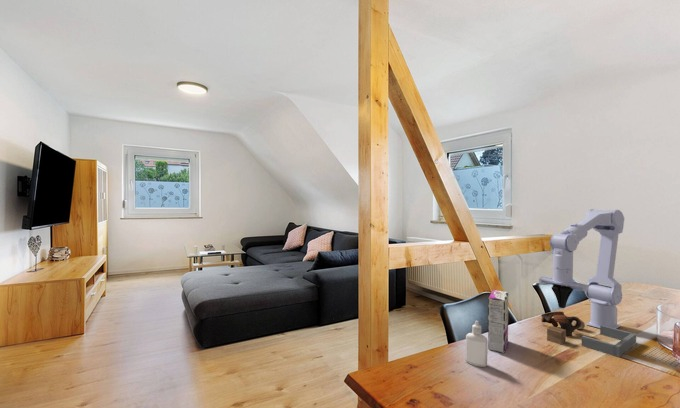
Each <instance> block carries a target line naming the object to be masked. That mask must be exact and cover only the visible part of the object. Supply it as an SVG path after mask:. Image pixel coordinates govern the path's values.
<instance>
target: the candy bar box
mask: <svg viewBox="0 0 680 408" xmlns="http://www.w3.org/2000/svg"><path fill="white" fill-rule="evenodd" d="M487 313H488V314H487V315H488V323H487V324H488V331H487V332H488V334H487V335H488V336H487V337H488V338H487V340H488V348H487V350H489V351H492V352H498V353H503V354H505V353H506V349H507V346H508V342H509V291H503V290H496V289H493V290H492V291H491V293H490V295H489V297H488V312H487Z"/></svg>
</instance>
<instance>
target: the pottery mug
mask: <svg viewBox="0 0 680 408" xmlns="http://www.w3.org/2000/svg"><path fill="white" fill-rule="evenodd" d="M540 316H541V323H542V324H543V323H547V324H551V325H552V326H553V327H557V328H558V327H559V326H560V327H559V328H560V329H564V330H566V337H567V336H569V337H570V336H573V333H574V332H575V330H579V329H578V328H579V327H580V326H581V321H580V320H581V319H580V318H579V317H578V316H567V315H565V312H564V311H550V312H545V313H542V314H541V315H540ZM573 321H576V325H575V326H573Z"/></svg>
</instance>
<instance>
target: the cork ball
mask: <svg viewBox="0 0 680 408" xmlns="http://www.w3.org/2000/svg"><path fill="white" fill-rule="evenodd" d="M580 321H581V326H580V327H579V328H578V329H577V330H583V329H585V325H586V323H585V322H584V321H583V320H582V319H580ZM572 325H573V326H575V325H576V321H573V322H572Z"/></svg>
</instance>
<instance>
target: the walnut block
mask: <svg viewBox="0 0 680 408" xmlns="http://www.w3.org/2000/svg"><path fill="white" fill-rule="evenodd" d="M560 328H561V327H558V326H557V327H554V326H553V325H552V326H550V327H548V328H546V329H547V330H546V340H547V342H551V343H553V344H557V345H563V344H564V343H566V341H567V340H566V338H567V335H566V330H564V329H560Z"/></svg>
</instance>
